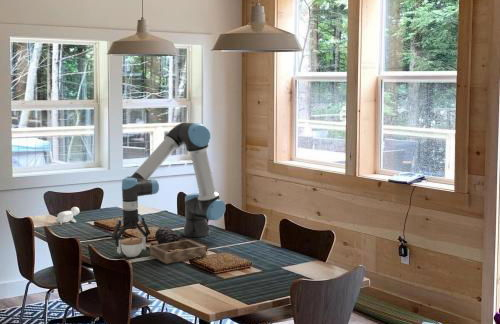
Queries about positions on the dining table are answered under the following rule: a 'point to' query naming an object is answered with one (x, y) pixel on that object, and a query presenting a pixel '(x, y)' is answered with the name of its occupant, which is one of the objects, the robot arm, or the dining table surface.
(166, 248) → the wooden tray
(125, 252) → the lidded jar
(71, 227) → the dining table surface
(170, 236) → the pine cone
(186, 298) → the dining table surface
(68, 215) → the white animal figurine
